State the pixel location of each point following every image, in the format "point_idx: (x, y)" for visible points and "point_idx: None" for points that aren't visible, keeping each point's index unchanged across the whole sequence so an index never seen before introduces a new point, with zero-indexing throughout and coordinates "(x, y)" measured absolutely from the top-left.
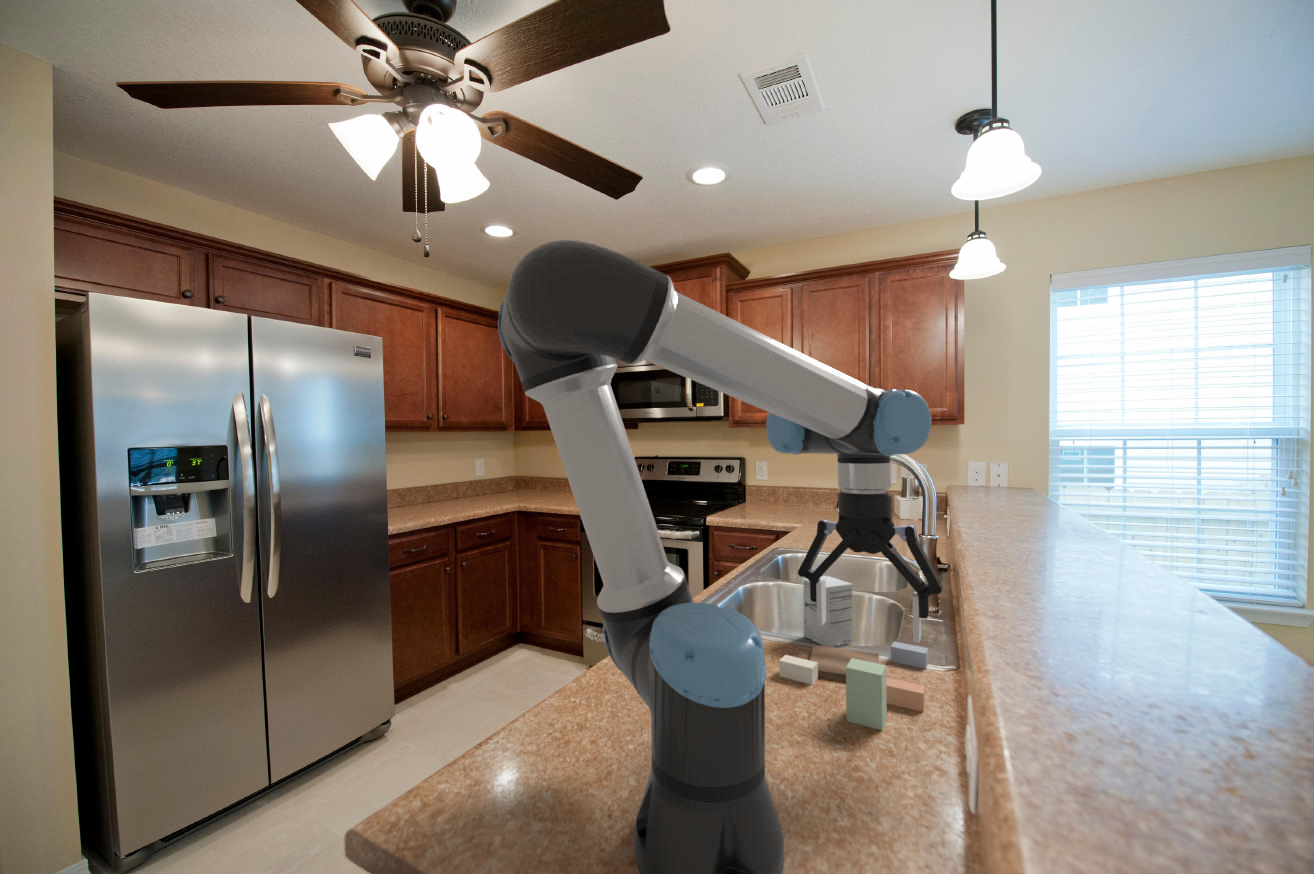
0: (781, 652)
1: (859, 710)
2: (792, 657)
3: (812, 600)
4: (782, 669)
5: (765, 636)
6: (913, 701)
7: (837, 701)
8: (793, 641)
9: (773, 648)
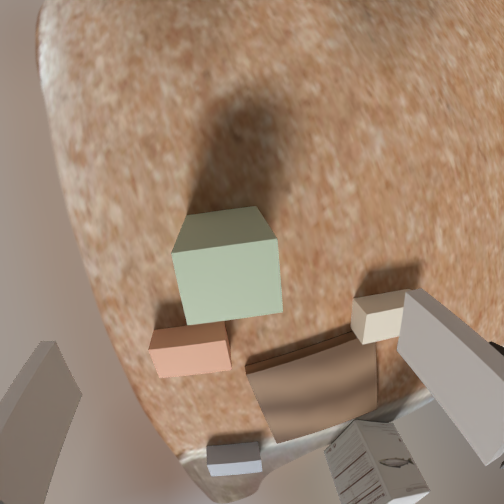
0: None
1: (231, 215)
2: None
3: (491, 344)
4: None
5: None
6: (167, 335)
7: (295, 268)
8: (404, 403)
9: None
